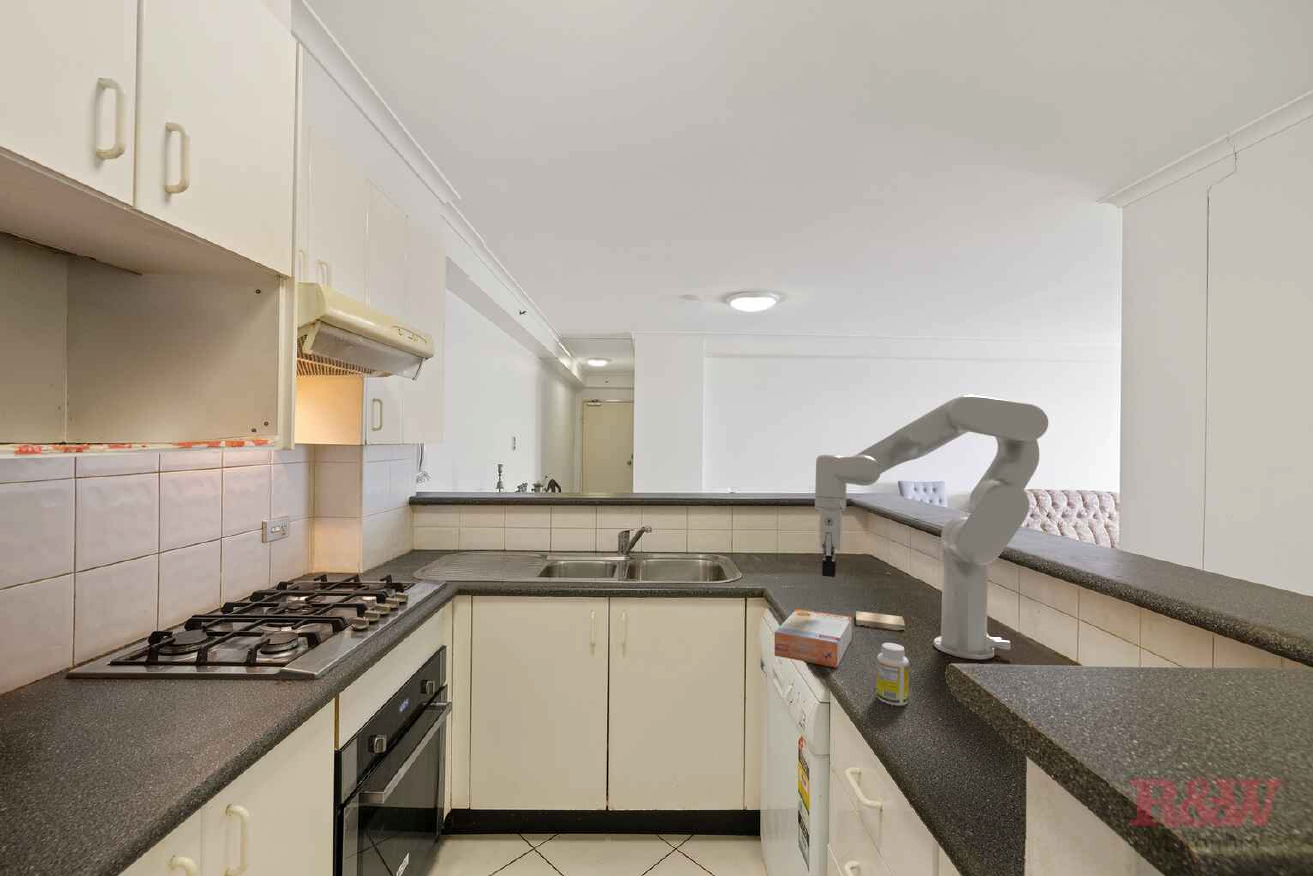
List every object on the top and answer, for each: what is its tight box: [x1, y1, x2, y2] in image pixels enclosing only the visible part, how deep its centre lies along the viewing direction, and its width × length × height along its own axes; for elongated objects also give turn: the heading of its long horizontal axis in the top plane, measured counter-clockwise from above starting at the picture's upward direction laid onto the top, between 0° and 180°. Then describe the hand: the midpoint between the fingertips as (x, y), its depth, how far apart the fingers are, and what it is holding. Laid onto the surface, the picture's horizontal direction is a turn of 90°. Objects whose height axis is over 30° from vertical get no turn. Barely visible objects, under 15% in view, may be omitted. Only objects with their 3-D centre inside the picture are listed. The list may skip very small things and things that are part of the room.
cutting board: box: [855, 610, 906, 632], centre depth 150 cm, size 12×8×2 cm, turn 71°
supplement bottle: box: [876, 642, 910, 707], centre depth 105 cm, size 6×6×10 cm
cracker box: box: [774, 608, 853, 669], centre depth 131 cm, size 14×6×21 cm
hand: (828, 575), depth 140 cm, fingers closed
